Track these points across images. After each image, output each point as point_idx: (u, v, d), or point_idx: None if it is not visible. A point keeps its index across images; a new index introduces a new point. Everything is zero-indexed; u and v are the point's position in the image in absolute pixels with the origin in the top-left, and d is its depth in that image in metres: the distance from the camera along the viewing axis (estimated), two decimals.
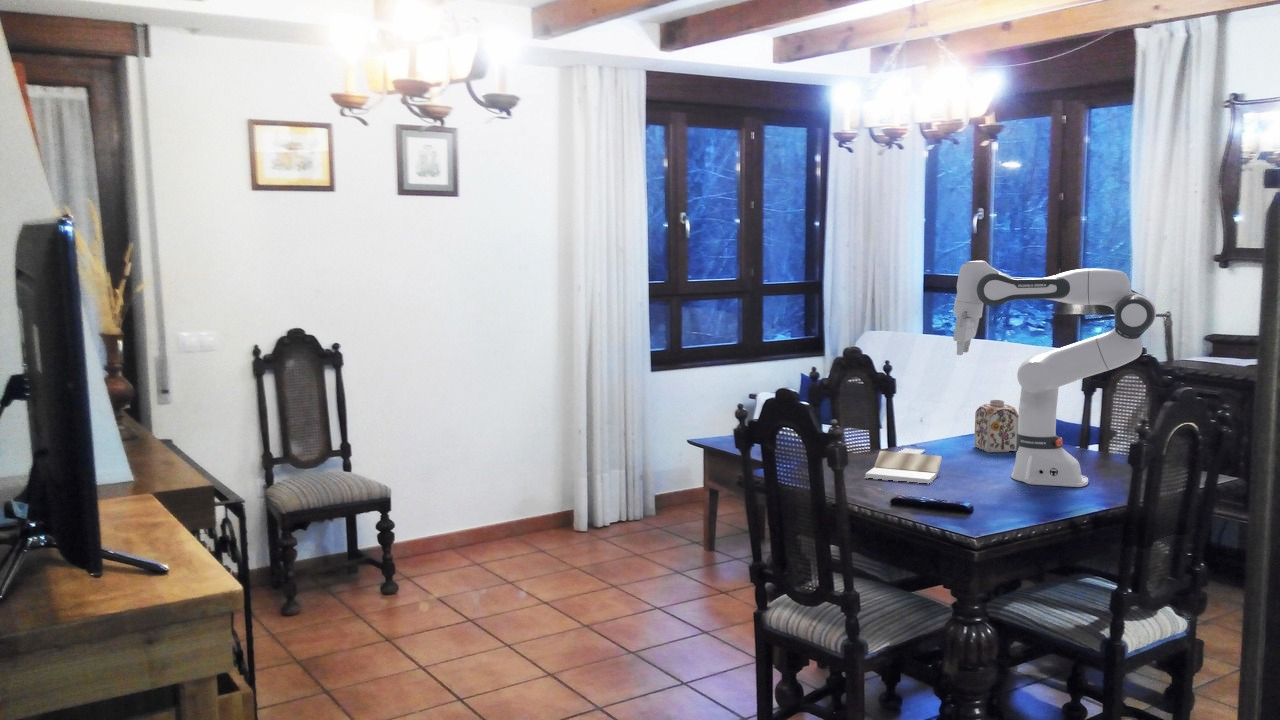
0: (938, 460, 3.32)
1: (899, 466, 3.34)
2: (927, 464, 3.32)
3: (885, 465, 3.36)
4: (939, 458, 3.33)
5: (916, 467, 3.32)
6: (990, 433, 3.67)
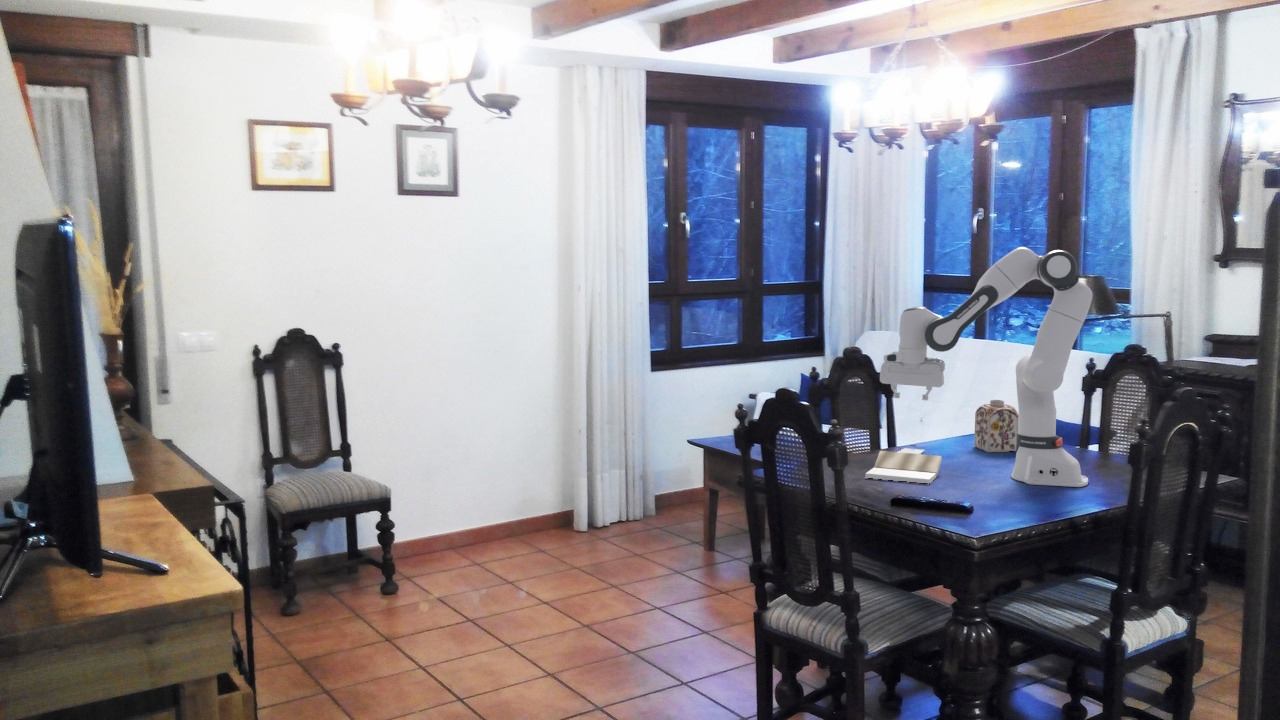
0: (938, 460, 3.32)
1: (899, 466, 3.34)
2: (927, 464, 3.32)
3: (885, 465, 3.36)
4: (939, 458, 3.33)
5: (916, 467, 3.32)
6: (990, 433, 3.67)
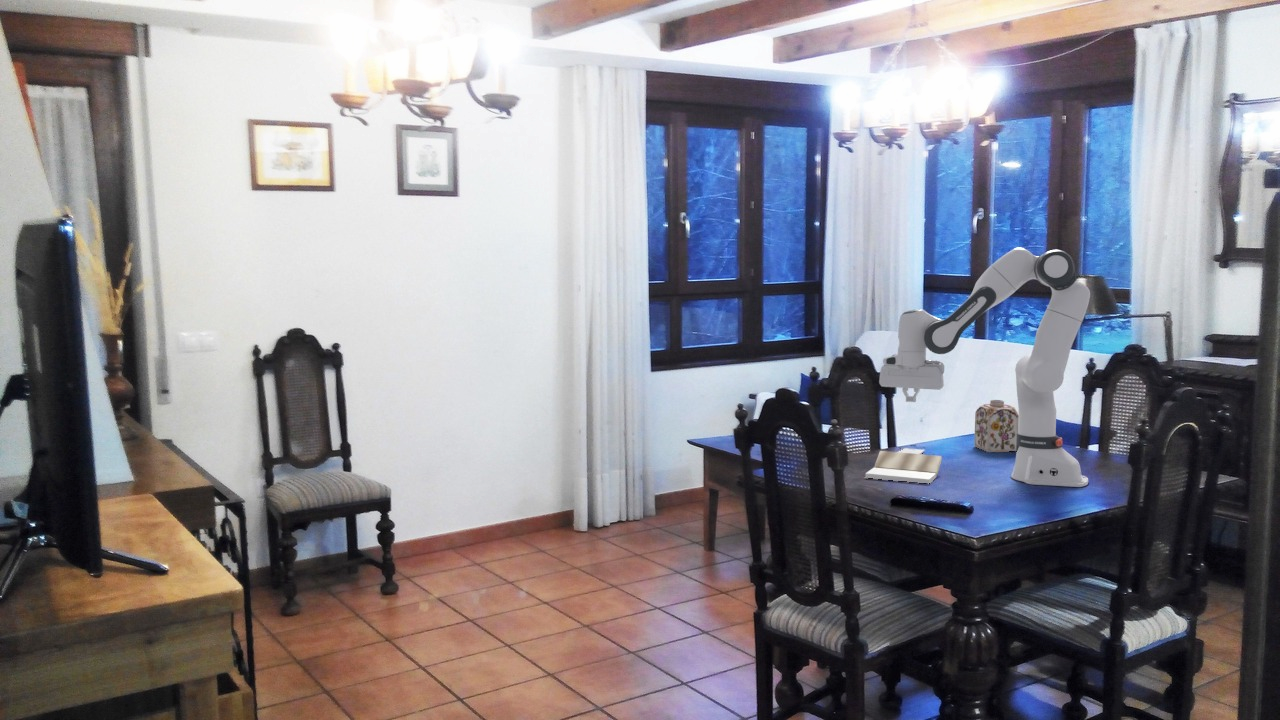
0: (938, 460, 3.32)
1: (899, 466, 3.34)
2: (927, 464, 3.32)
3: (885, 465, 3.36)
4: (939, 458, 3.33)
5: (916, 467, 3.32)
6: (990, 433, 3.67)
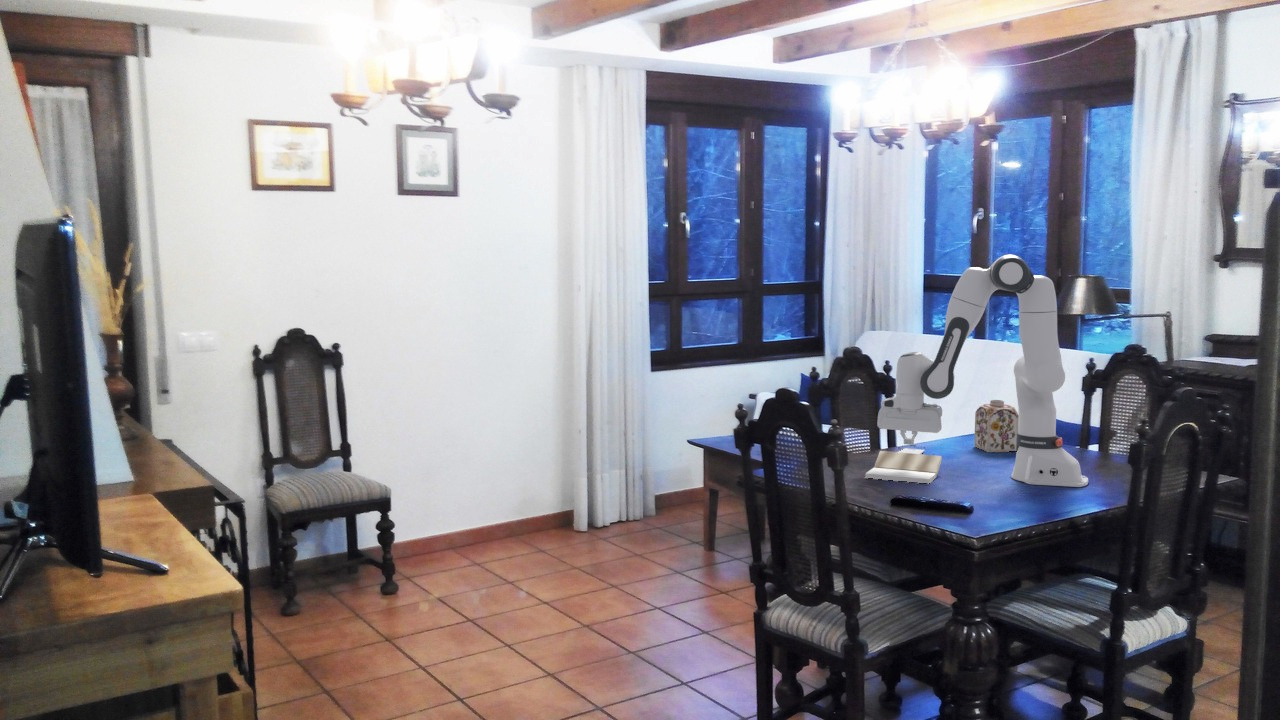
0: (938, 460, 3.32)
1: (899, 466, 3.34)
2: (927, 464, 3.32)
3: (885, 465, 3.36)
4: (939, 458, 3.33)
5: (916, 467, 3.32)
6: (990, 433, 3.67)
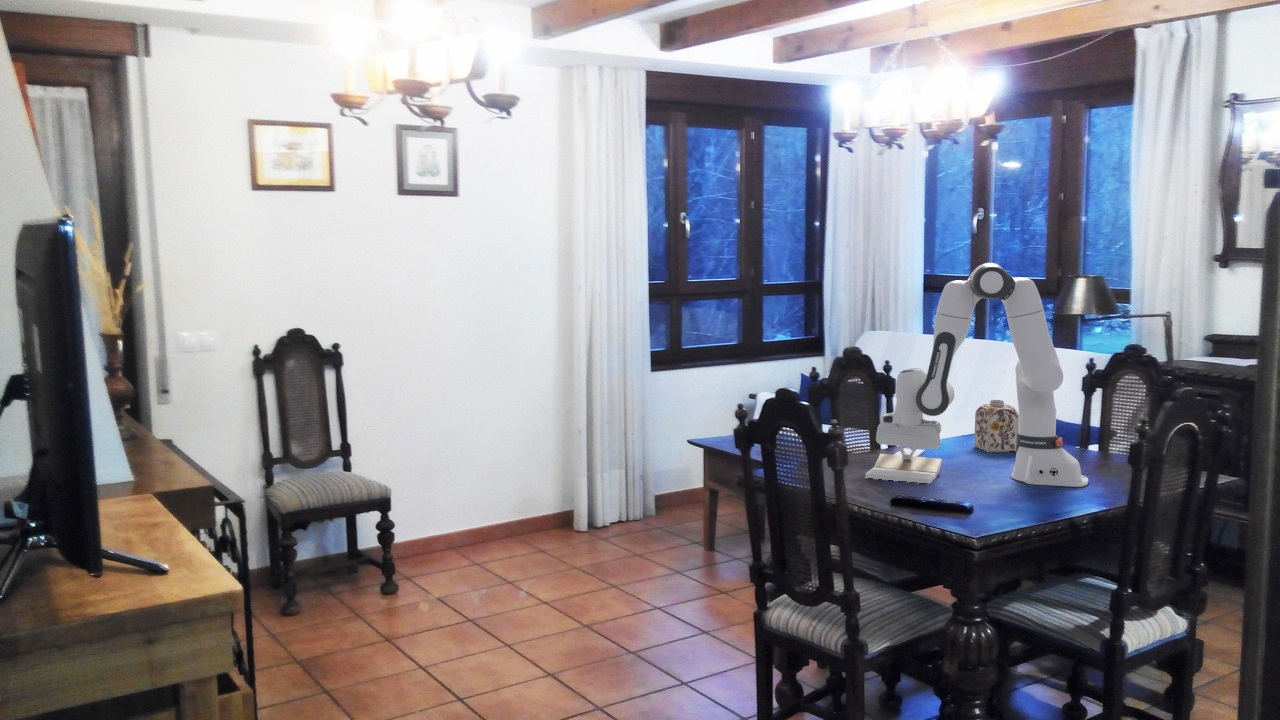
0: (938, 462, 3.32)
1: (899, 466, 3.34)
2: (927, 465, 3.32)
3: (885, 465, 3.36)
4: (939, 460, 3.33)
5: (916, 468, 3.32)
6: (990, 433, 3.67)
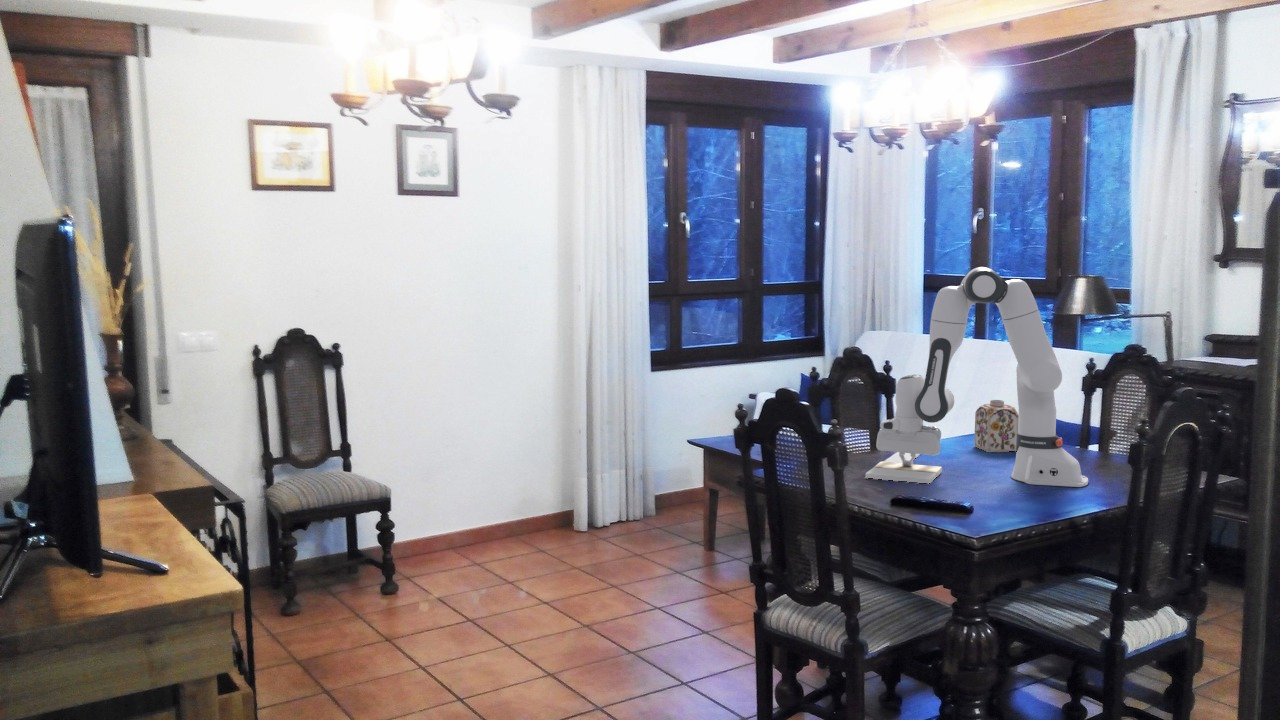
0: (938, 468, 3.33)
1: (899, 468, 3.34)
2: (928, 469, 3.32)
3: (885, 467, 3.36)
4: (939, 467, 3.34)
5: (916, 469, 3.32)
6: (990, 433, 3.67)
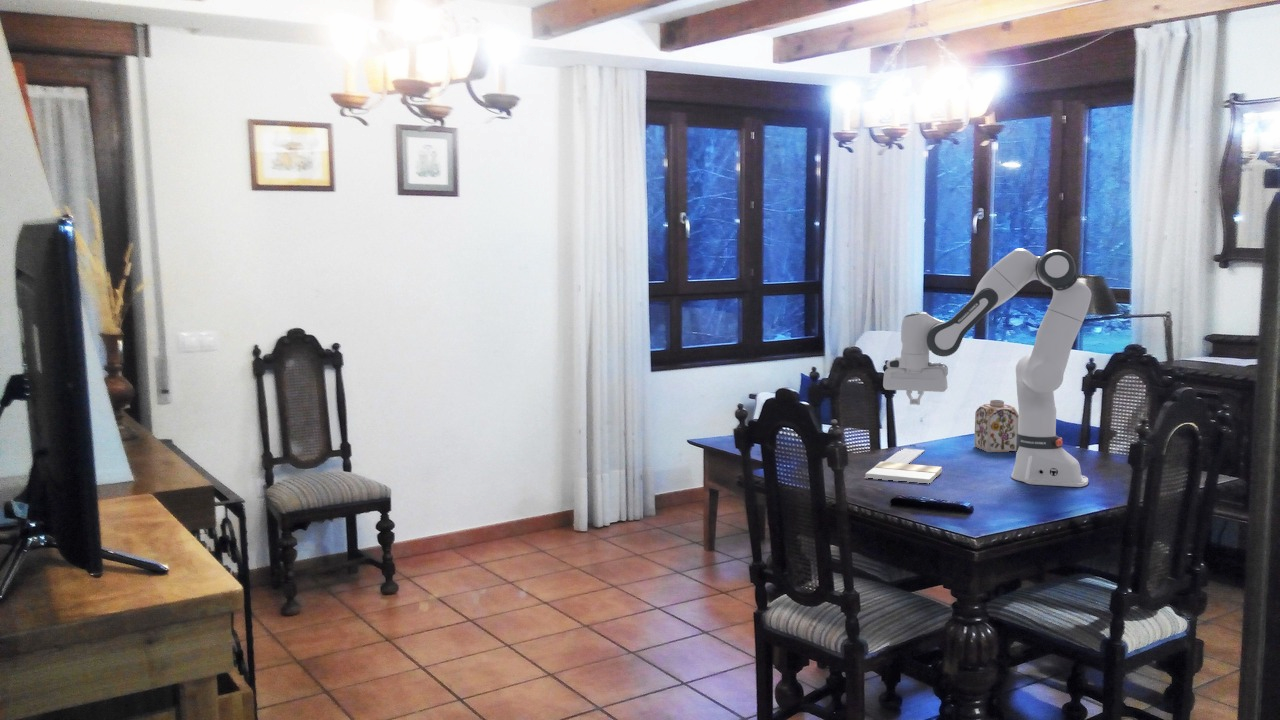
0: (938, 468, 3.33)
1: (899, 468, 3.34)
2: (928, 469, 3.32)
3: (885, 467, 3.36)
4: (939, 467, 3.34)
5: (916, 469, 3.32)
6: (990, 433, 3.67)
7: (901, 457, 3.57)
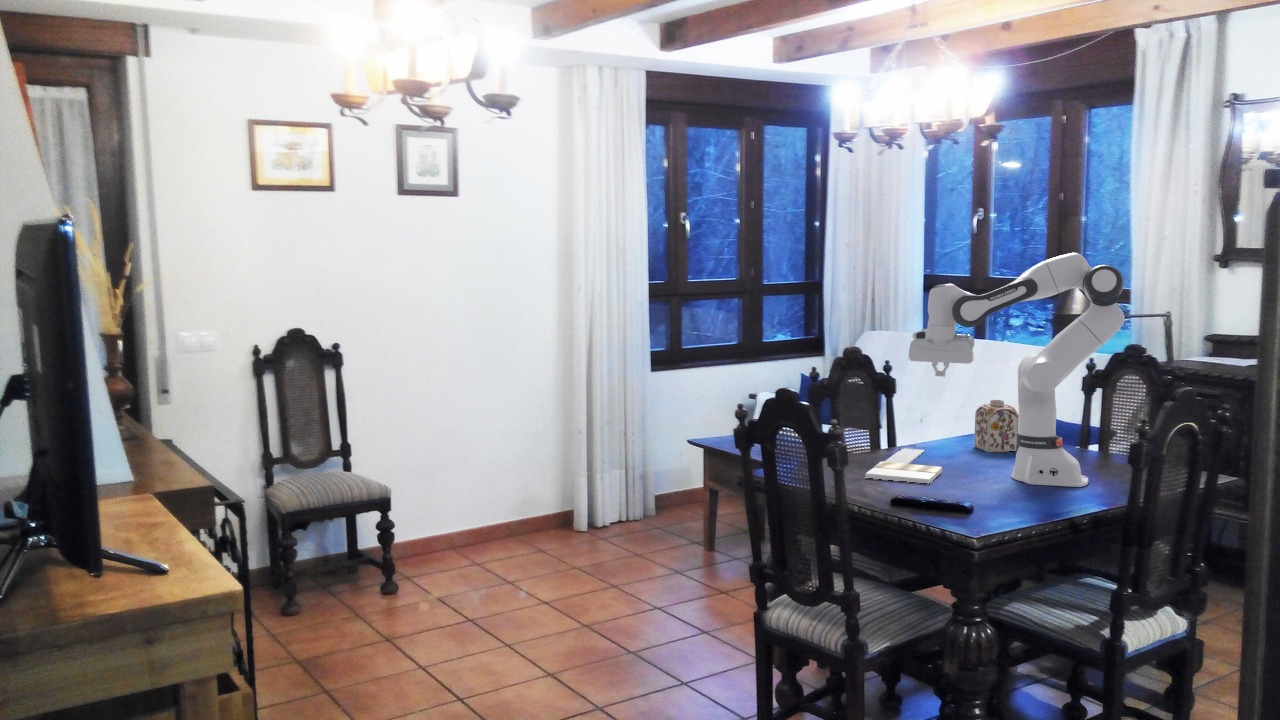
0: (938, 468, 3.33)
1: (899, 468, 3.34)
2: (928, 469, 3.32)
3: (885, 467, 3.36)
4: (939, 467, 3.34)
5: (916, 469, 3.32)
6: (990, 433, 3.67)
7: (901, 457, 3.57)
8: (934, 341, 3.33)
